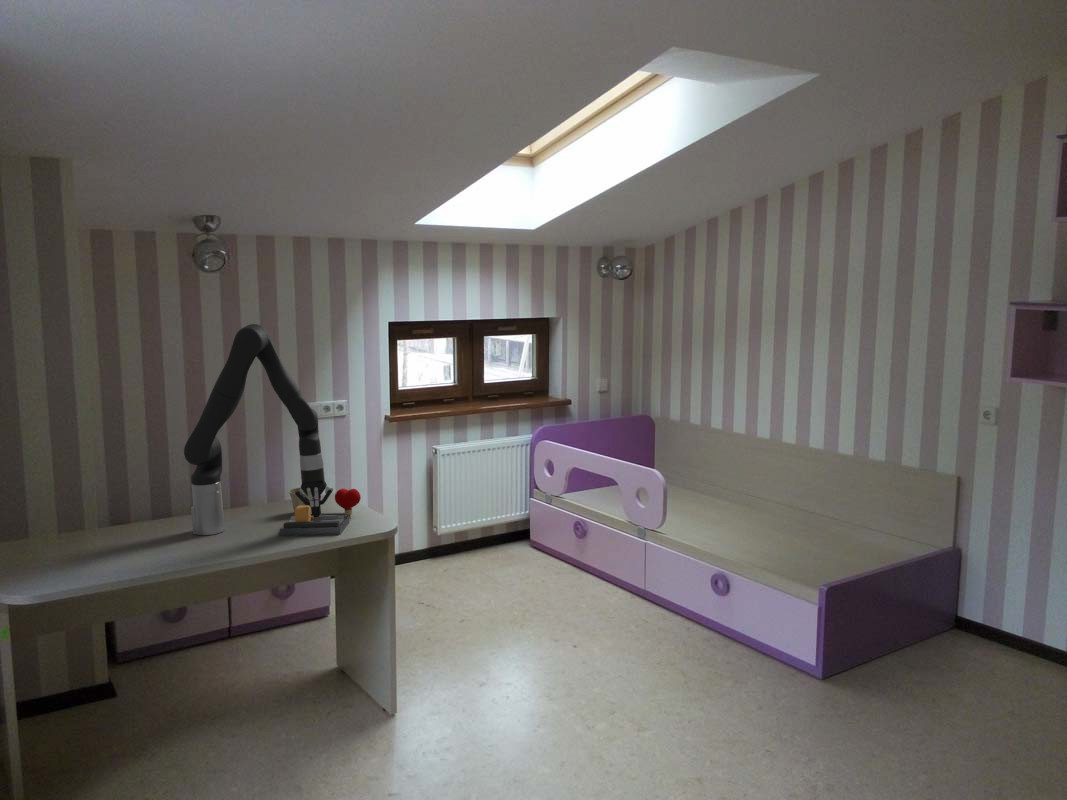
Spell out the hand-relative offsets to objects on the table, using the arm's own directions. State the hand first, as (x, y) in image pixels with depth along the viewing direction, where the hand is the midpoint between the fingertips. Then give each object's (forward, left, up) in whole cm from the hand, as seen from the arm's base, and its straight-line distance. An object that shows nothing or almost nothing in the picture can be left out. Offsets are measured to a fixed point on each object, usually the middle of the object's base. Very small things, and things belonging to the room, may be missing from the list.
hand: (316, 516), depth 277 cm
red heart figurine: (+7, +15, -5) cm, 17 cm away
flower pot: (-11, +21, -5) cm, 24 cm away
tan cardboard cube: (-5, 0, -2) cm, 5 cm away
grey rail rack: (-1, 0, -2) cm, 2 cm away
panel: (-1, 0, -4) cm, 4 cm away
